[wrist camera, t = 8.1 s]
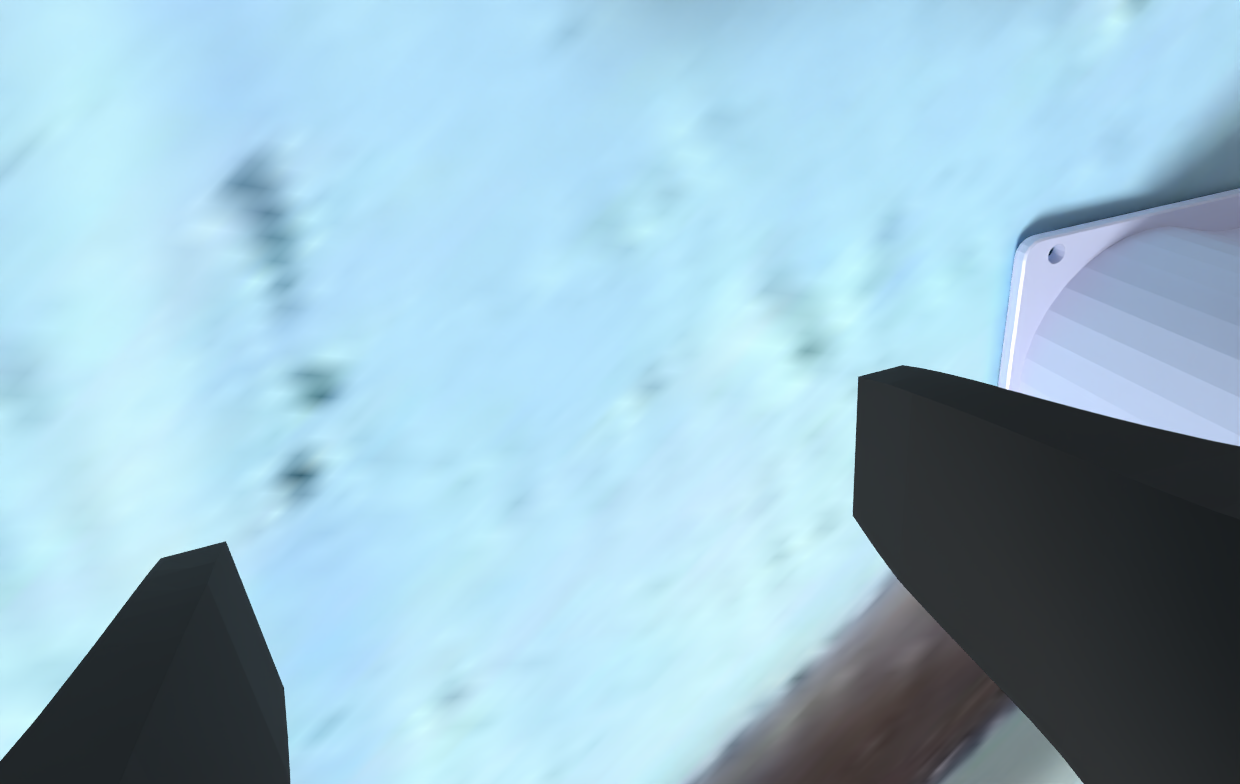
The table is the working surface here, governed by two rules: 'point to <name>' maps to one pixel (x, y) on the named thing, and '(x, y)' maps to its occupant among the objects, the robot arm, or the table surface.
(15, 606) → the table surface
